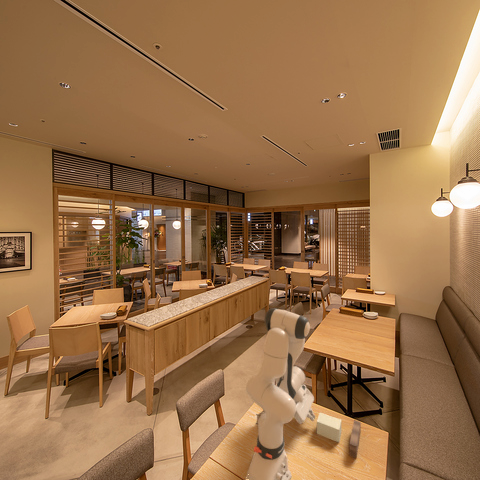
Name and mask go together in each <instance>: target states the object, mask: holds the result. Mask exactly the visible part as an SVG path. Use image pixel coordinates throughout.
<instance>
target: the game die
mask: <svg viewBox="0 0 480 480" xmlns="http://www.w3.org/2000/svg"><path fill="white" fill-rule="evenodd" d="M264 413H265V411H264V410H263V409H262V411H260V412H259V413H256V414H255V415H256V422H255V425H258V421H259V418H260V417H261V415H262V414H264Z"/></svg>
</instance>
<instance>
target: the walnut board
mask: <svg viewBox="0 0 480 480" xmlns="http://www.w3.org/2000/svg"><path fill="white" fill-rule="evenodd" d="M361 424H362V423H361V421H359V420H356V419H353V425H352V429H351V435H350V440H349V457H352V458H354V459H358V457H357V456H358V453H359V445H360V444H359V443H360V438H361V433H362V432H361V428H362V427H361Z"/></svg>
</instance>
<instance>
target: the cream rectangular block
mask: <svg viewBox="0 0 480 480" xmlns="http://www.w3.org/2000/svg"><path fill="white" fill-rule="evenodd" d="M316 434H317V435H318V436H322V437H324V438H326V439H329V440H332V441H335V442H336V443H340V441H341V436H342V419H341V418H337V417H334V416H331V415H328V414H326V413H323V412H319V413H318V416H317V420H316Z"/></svg>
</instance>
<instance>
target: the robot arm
mask: <svg viewBox="0 0 480 480" xmlns="http://www.w3.org/2000/svg"><path fill="white" fill-rule="evenodd" d="M264 325H265V328H266V330H267V334H266V337H265V340H264V345H263V353H262V357H261V358H262V359H261V363H260V364H261V365H260V368H259V370H258V372H257V373H256V374H254V375H252V376H251V377H250V378H249V379H248V380H247V382H246V387H245V388H246V389H245V390H246V391H245V392H246V394H247V395H248V397H249V399H251V401H253V402H254V403H255V404H256V405H257V406H258V407H259V408H261V409H262V411H263V410H264V411H265V413H264V414H262V415H261V417H260V418H259V421H258V424H257V429H258V430H257V431H258V435H257V439H256V445H255V446H254V449H253V452H254V454H253V455H252V458H251V461H250V465H249V467H248V469H247V473H246V475H245V478H246V477H247V478H246V479H249V480H291V479H292V477H293V476H292V472H291V470H290V469H289V461H288V456H287V453H286V450H285V438H284V425H285V424H288V423H290V422H291V421H292V420H293V419H295V420H296V422H297V423H298V424H300V425H302V424H303V423H305V421H306V419H307V418H308V419H309V420H310V421H312V422H314V421H315V418H316V414H315V413H314V411H313V408H312V405H313V403H314V401H315V397H314V394H313V393H312V391H310V390H309V388H307V386H306V385H305V384H304V383H305V381H306V378H307V377H306V374H305V372H304V370H303V369H302V368H301V367H300V366H297V365H295V363H296V362H297V360H298V358H299V357H300V356H301V353H303V351H304V348H305V344H306V343H305V341H306V338H307V337H308V336H309V333H310V330H311V323H310V321H309V319H308V318H307V317H305V316H303V315H299V314H297V313H295V312H291V311H289V310H285V309H279V308H276V307H275V308H273V307H272V308H269V309H267V311H266V313H265V315H264ZM248 474H249V475H248ZM246 479H244V480H246Z"/></svg>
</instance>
